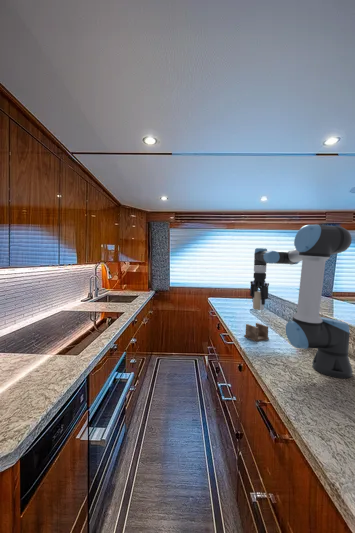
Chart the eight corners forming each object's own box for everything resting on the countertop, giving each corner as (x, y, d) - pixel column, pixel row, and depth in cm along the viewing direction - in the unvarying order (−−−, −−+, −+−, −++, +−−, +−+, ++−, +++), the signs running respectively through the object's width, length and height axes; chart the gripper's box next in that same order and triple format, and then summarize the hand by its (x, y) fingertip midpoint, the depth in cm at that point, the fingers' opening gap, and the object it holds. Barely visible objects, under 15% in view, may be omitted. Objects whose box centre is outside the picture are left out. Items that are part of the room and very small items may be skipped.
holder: (268, 339, 146) (269, 326, 146) (256, 341, 141) (256, 328, 141) (256, 334, 155) (257, 322, 155) (244, 336, 150) (244, 324, 150)
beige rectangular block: (264, 309, 147) (265, 292, 146) (258, 310, 144) (259, 292, 144) (258, 308, 151) (258, 291, 151) (251, 308, 149) (252, 291, 149)
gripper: (275, 273, 141) (274, 311, 141) (253, 271, 157) (252, 305, 158) (267, 273, 137) (265, 312, 138) (245, 271, 154) (243, 306, 154)
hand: (258, 308), depth 148 cm, fingers closed on beige rectangular block, 5 cm apart
